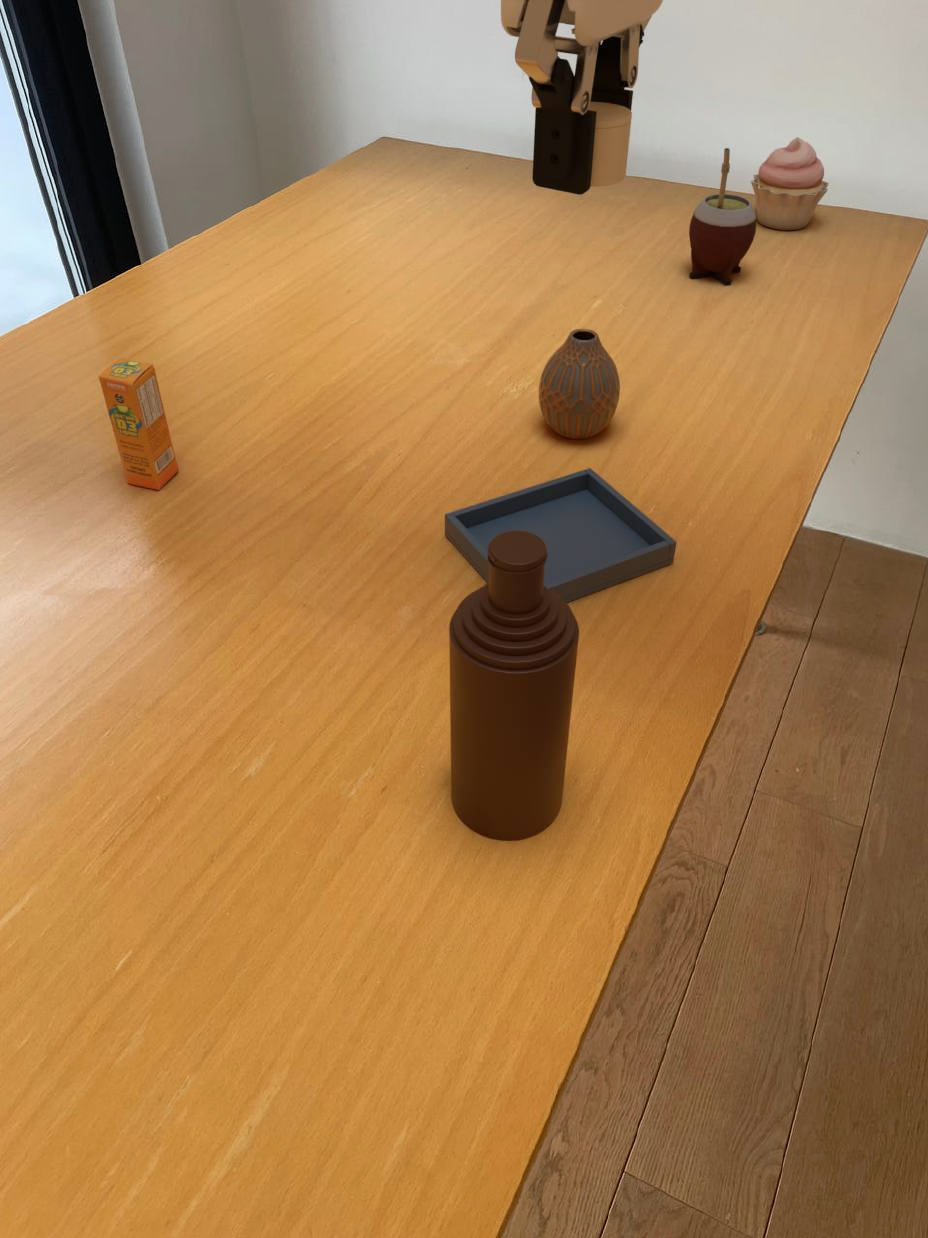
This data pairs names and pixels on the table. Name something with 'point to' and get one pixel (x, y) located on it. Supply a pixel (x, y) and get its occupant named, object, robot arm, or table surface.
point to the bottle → (511, 694)
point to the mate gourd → (721, 232)
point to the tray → (568, 533)
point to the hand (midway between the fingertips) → (579, 172)
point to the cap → (610, 143)
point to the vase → (579, 387)
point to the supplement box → (139, 423)
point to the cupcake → (789, 186)
